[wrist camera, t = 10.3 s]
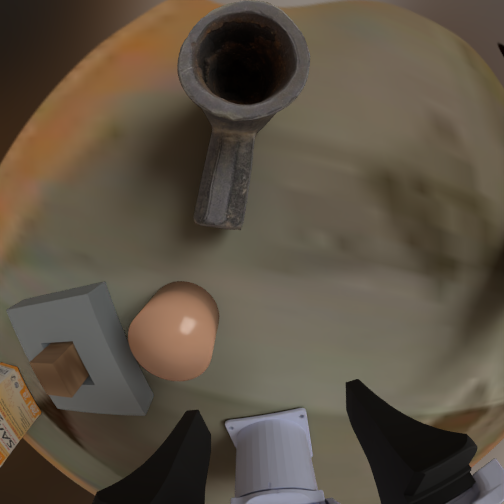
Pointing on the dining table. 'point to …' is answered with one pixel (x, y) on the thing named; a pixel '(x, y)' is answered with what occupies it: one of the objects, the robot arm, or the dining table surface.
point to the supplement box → (14, 409)
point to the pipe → (239, 95)
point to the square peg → (60, 369)
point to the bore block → (86, 348)
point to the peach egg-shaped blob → (175, 332)
